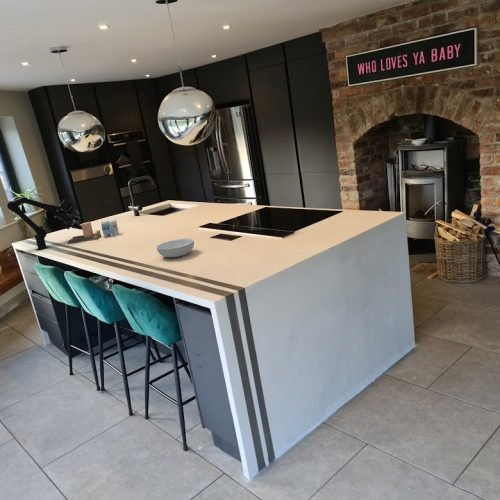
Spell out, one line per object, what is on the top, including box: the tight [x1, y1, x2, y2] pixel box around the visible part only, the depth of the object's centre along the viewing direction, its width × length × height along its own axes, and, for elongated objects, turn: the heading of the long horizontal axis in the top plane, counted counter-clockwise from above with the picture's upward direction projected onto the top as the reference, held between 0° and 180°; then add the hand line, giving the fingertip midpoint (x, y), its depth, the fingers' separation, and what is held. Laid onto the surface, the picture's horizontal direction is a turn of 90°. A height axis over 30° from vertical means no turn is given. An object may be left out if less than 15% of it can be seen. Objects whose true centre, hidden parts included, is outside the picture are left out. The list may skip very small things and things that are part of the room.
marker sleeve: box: [80, 221, 94, 238], centre depth 339 cm, size 6×5×10 cm
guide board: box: [66, 229, 102, 245], centre depth 340 cm, size 11×21×4 cm, turn 93°
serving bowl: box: [156, 238, 195, 259], centre depth 264 cm, size 21×21×7 cm
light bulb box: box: [100, 219, 120, 239], centre depth 339 cm, size 11×7×11 cm, turn 105°
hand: (83, 229), depth 338 cm, fingers closed, pressing on marker sleeve
